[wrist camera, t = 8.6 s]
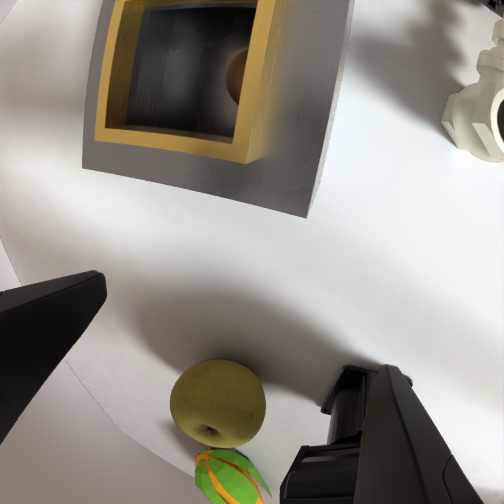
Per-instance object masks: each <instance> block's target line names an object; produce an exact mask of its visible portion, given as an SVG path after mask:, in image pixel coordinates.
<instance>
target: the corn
mask: <svg viewBox="0 0 504 504" xmlns="http://www.w3.org/2000/svg"><path fill="white" fill-rule="evenodd" d="M195 467H196V469H195V484H196V486H197V487H198V488H199V489H200V490H201V491H202V492H203V494H204V495H205V496H206V497H207V498H208V499H209V500H210V501H211V502H212V503H213V504H263V501H262V497H261V494H260V491H259V489H258V486H257V485H256V483H255V482H254V481H253V479H252V478H251V477H250V475H249V474H248V472H249V473H250V474H251V475H252V476H253V477H254V478H255V479H256V480H257V481H258V482H259V483H260V484H261V485H262V486H263V487H264V489H265V490H266V491H267V492H268V493H269V494H270V496H271V498H272V495H271V493H270V490H269V488H268V487H267V485H266V484H265V482H264V481H263V479H262V478H261V476H260V475H259V473H258V472H257V470H256V469H255V467H254V466H253V464H252V463H251V462H250V461H249V460H248V459H246V458H245V457H244V456H243V455H241V454H239V453H236V452H233V451H230V450H220V449H215V448H210V449H207V450H204V451H202V452H201V453H199V456H198V457H196V458H195ZM245 469H246V470H248V472H247V471H246V470H245Z"/></svg>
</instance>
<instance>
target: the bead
mask: <svg viewBox="0 0 504 504" xmlns="http://www.w3.org/2000/svg"><path fill="white" fill-rule="evenodd" d="M248 50H249V49H246V50H244V51H243V52H241V53H240V54H238V55H237V56H236V57H235V58H234V59H233V61H232V62H231V64H230V65H229V68H228V70H227V74H226V86H227V90H228V92H229V95H230V96H231V98H232V99H233V101H234V102H235V103H236V104H237V105H238V106H239V101H240V95H241V89H242V83H243V78H244V72H245V67H246V61H247V56H248Z"/></svg>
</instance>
